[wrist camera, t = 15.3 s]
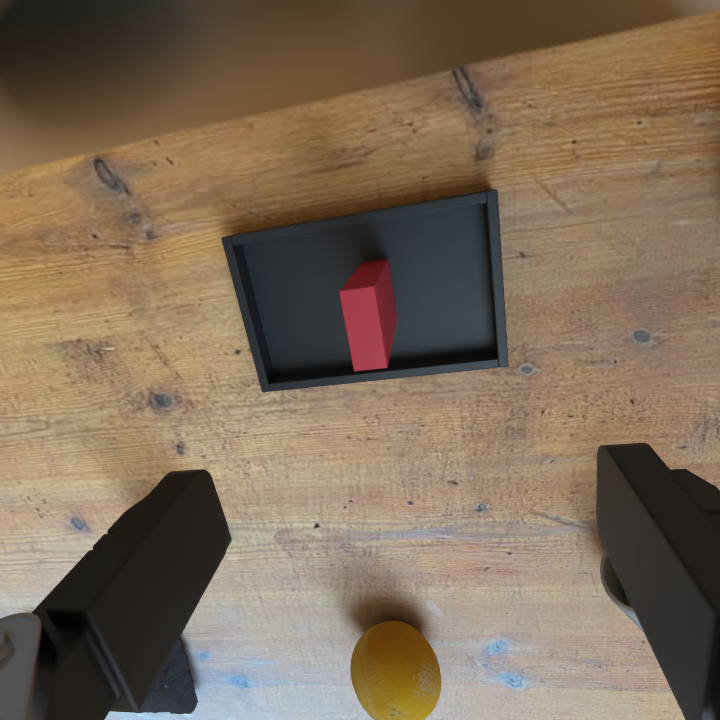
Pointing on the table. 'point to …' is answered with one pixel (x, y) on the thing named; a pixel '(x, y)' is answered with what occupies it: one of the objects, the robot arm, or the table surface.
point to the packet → (369, 315)
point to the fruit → (395, 672)
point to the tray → (409, 281)
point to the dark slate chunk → (172, 686)
